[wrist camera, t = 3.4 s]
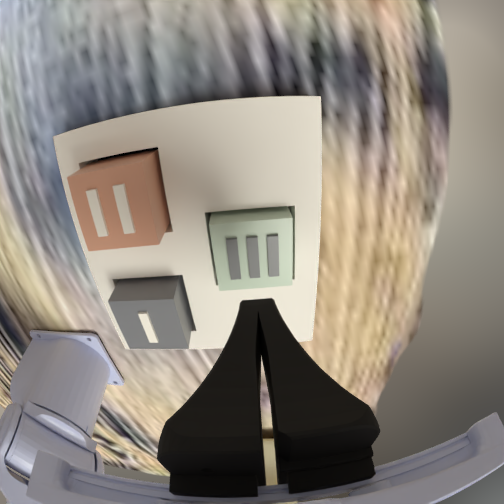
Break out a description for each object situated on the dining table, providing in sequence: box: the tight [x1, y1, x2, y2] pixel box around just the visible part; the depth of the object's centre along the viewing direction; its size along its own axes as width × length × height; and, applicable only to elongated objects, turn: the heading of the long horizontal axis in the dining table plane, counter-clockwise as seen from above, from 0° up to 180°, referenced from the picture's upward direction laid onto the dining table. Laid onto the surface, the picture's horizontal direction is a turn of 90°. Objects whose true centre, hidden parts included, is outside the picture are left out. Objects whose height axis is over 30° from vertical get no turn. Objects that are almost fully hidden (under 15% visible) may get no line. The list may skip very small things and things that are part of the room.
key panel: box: [53, 96, 322, 350], centre depth 19 cm, size 15×17×2 cm
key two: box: [67, 150, 171, 251], centre depth 15 cm, size 4×4×3 cm
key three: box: [209, 206, 293, 291], centre depth 18 cm, size 4×4×3 cm
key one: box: [108, 275, 193, 349], centre depth 19 cm, size 4×4×3 cm
